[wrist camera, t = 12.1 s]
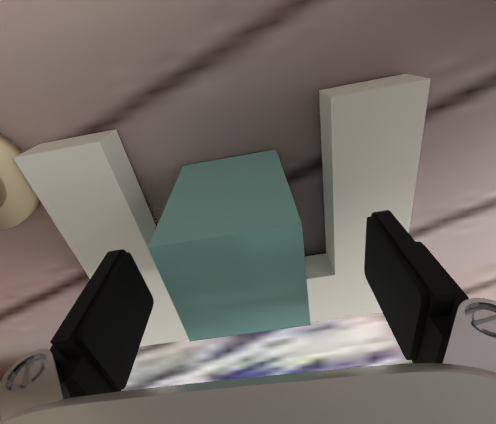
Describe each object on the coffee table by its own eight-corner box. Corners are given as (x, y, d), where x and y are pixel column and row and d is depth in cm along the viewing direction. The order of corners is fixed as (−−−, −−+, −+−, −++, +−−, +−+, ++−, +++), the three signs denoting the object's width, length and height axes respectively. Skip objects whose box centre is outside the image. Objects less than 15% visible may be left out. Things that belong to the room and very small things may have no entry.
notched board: (405, 73, 13) (430, 78, 11) (384, 287, 20) (397, 310, 19) (39, 143, 14) (12, 157, 13) (141, 323, 22) (133, 347, 20)
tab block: (276, 149, 15) (301, 223, 9) (285, 227, 18) (310, 324, 12) (183, 165, 15) (147, 247, 9) (205, 239, 18) (189, 341, 12)
